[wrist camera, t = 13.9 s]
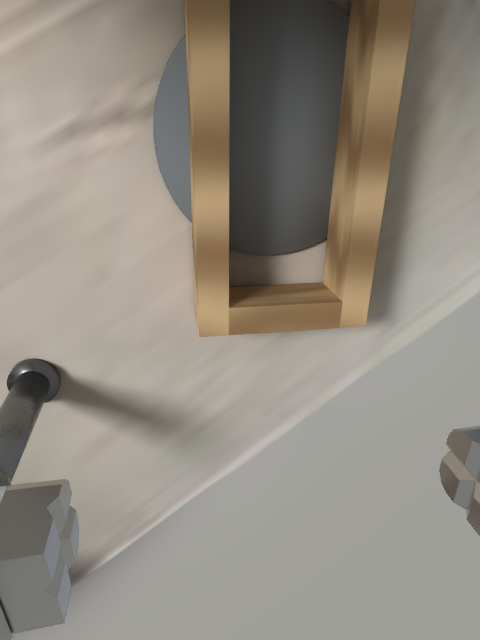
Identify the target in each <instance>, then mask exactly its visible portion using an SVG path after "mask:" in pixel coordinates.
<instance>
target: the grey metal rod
mask: <svg viewBox="0 0 480 640" xmlns="http://www.w3.org/2000/svg"><path fill="white" fill-rule="evenodd" d="M60 383H61V378H60V374H59V372H58V370H57V369H56V368H55V367H54V366H53V365H52V364H50V363H49V362H46V361H44V360H40V359H27V360H24V361H21V362H19V363H18V364H17V365H15V366H14V368H13V369H12V371H11V373H10V374H9V376H8V379H7V387H8V390H9V394H8V396H7V397H6V399H5V401H4V403H3V405H2V406H1V408H0V487H1V486H10V485H11V481H12V478H13V476H14V474H15V471H16V469H17V466H18V464H19V462H20V459H21V457H22V454H23V452H24V449H25V447H26V445H27V442H28V440H29V437H30V435H31V433H32V430H33V428H34V425H35V423H36V421H37V418H38V416H39V413H40V411H41V408H42V406H43V404H44V403H46V402H48V401H50V400H51V399H52V398H54V396H55V395H56V394H57V391H58V389H59V386H60Z"/></svg>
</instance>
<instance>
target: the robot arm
mask: <svg viewBox="0 0 480 640" xmlns="http://www.w3.org/2000/svg"><path fill="white" fill-rule="evenodd" d="M446 444H447V446H448V447H449V449H450V451H449V452H448V453H447V454H446V455H445V456H444V457H443V458H442V461H441V465H440V470H439V471H440V476H441V482H442V485H443V487H444V489H445V491H446V493H447V494H448V496H449V497H450V498H451V500H452V501H453V502H454V503H456V504H457V505H459V506H461V507H463V508H464V509H466V512H467V520H468V522H469V523H470V524H471V526H472V527H473V528H474V530H475V531H476V532H477V533H478V535H479V536H480V426H476V427H468V428H461V429H454V430H453V431H452V432H451V433H450V434H449V436H448V439H447V443H446ZM71 496H72V491H71V488H70V484H69V481H68V480H66V479H63V480H53V481H44V482H34V483H24V484H15V485H10V486H1V487H0V640H11V639H12V634H14V633H19V632H24V631H28V630H33V629H38V628H43V627H48V626H53V625H57V624H62V623H64V622H65V618H66V612H67V606H68V601H69V596H70V591H71V581H70V577H69V573H68V570H69V569H70V568H71V567H72V566H73V564H74V563H75V562H76V557H77V551H78V539H79V526H78V517H77V513H76V510H75V509H74V508H73V507H71V506H70V500H71Z"/></svg>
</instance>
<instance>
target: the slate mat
mask: <svg viewBox="0 0 480 640" xmlns="http://www.w3.org/2000/svg"><path fill="white" fill-rule="evenodd" d="M349 18H350V17H349V16H348V15H347V14H345V13H344V12H343V11H341V10H340V9H339V8H337V7H336V6H335V5H333V4H331V3H329V2H328V1H326V0H230V72H229V248H231V249H234V250H238V251H241V252H245V253H250V254H256V255H278V254H286V253H290V252H295V251H299V250H302V249H304V248H307V247H310V246H312V245H314V244H316V243H318V242H320V241H322V240H324V239H325V238H327V236H328V226H329V216H330V206H331V196H332V186H333V176H334V166H335V156H336V146H337V137H338V127H339V117H340V107H341V97H342V87H343V77H344V67H345V57H346V47H347V37H348V27H349ZM154 141H155V150H156V155H157V159H158V164H159V168H160V171H161V174H162V176H163V179H164V182H165V184H166V187H167V188H168V190H169V192H170V194H171V196H172V198H173V200H174V201H175V203H176V204H177V206H178V207H179V208H180V210H181V211H182V213H183V214H184V215H185V216H186V217H187V218H188V219H189V220H190V222H191V223H192V206H191V176H190V147H189V117H188V88H187V59H186V34H185V36H184V37H183V38H182V40H181V41H180V42H179V44H178V45H177V47H176V48H175V50H174V52H173V54H172V56H171V57H170V59H169V61H168V63H167V66H166V68H165V71H164V73H163V76H162V78H161V81H160V85H159V89H158V93H157V97H156V104H155V112H154Z"/></svg>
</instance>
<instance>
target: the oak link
mask: <svg viewBox="0 0 480 640" xmlns="http://www.w3.org/2000/svg"><path fill="white" fill-rule="evenodd" d="M414 6H415V0H351V7H350V18H349V27H348V37H347V47H346V57H345V67H344V77H343V87H342V97H341V107H340V117H339V127H338V137H337V146H336V156H335V166H334V176H333V186H332V196H331V206H330V216H329V226H328V236H327V245H326V255H325V265H324V275H323V283H305V284H284V285H263V286H241V287H229V72H230V0H185V29H186V59H187V88H188V117H189V147H190V176H191V206H192V236H193V265H194V294H195V315H196V321H197V326H198V331H199V336H200V337H207V336H222V335H238V334H253V333H268V332H283V331H298V330H313V329H329V328H344V327H359V326H366V320H367V314H368V307H369V301H370V294H371V287H372V281H373V274H374V268H375V261H376V255H377V248H378V242H379V235H380V228H381V222H382V215H383V209H384V202H385V196H386V189H387V183H388V176H389V170H390V163H391V156H392V150H393V143H394V137H395V130H396V124H397V117H398V111H399V104H400V97H401V91H402V84H403V78H404V71H405V65H406V58H407V52H408V45H409V39H410V32H411V25H412V19H413V12H414Z"/></svg>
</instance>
